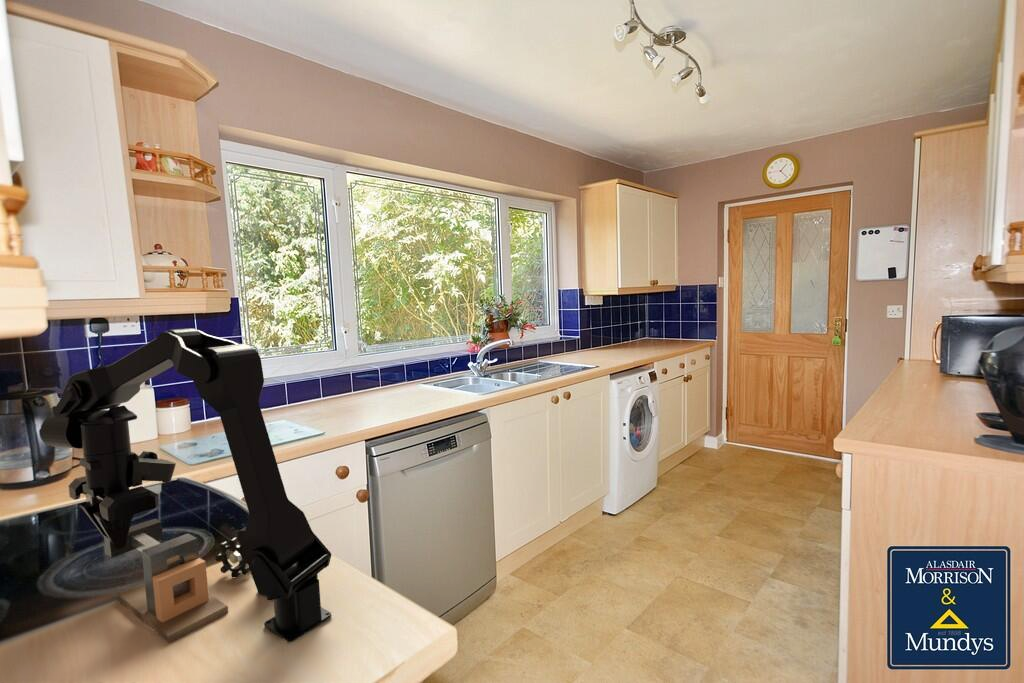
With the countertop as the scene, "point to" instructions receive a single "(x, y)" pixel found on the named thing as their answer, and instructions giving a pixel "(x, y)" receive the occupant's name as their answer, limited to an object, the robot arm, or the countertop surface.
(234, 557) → the valve
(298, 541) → the robot arm
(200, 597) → the collar
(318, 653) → the countertop surface
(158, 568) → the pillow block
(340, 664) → the countertop surface
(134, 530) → the rod
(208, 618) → the base plate
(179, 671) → the countertop surface
